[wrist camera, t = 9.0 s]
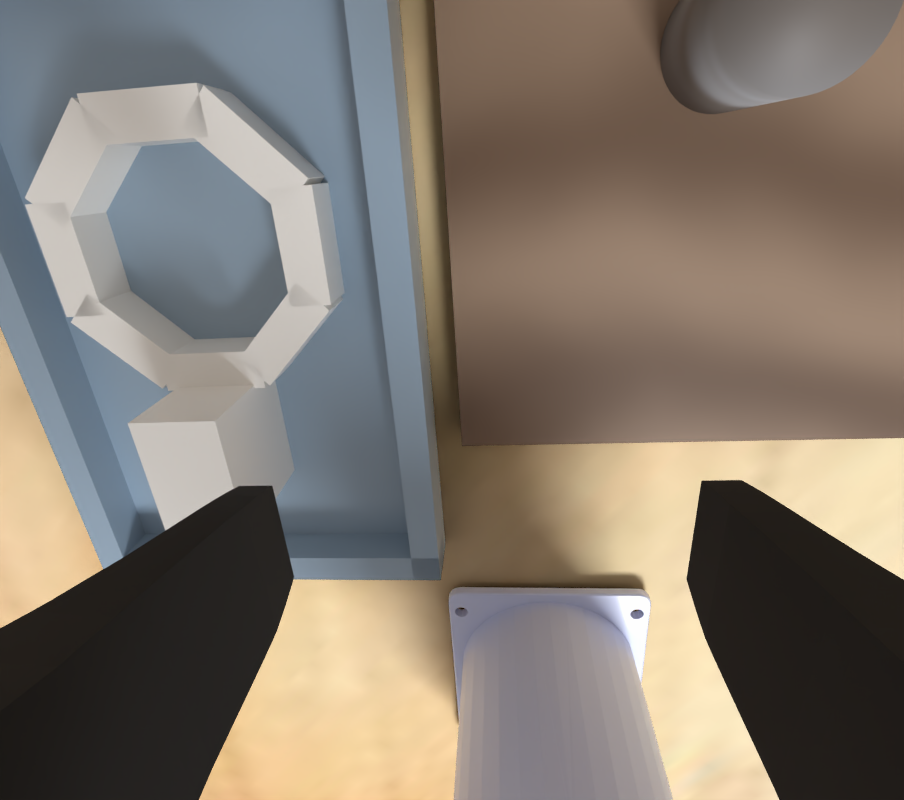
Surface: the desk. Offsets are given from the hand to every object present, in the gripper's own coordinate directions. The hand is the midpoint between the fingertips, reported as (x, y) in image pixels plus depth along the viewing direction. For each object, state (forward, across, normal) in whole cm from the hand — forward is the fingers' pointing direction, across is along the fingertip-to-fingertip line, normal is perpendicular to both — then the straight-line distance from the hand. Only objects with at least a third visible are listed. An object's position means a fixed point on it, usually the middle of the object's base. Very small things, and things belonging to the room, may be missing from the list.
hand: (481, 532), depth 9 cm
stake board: (+9, -6, -5) cm, 12 cm away
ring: (+9, +9, -2) cm, 12 cm away
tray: (+9, +8, -2) cm, 13 cm away
